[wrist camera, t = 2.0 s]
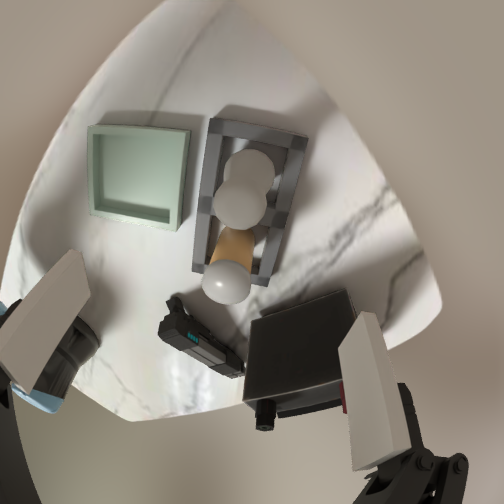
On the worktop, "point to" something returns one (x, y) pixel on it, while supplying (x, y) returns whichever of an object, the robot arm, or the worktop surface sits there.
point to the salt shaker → (244, 189)
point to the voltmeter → (297, 359)
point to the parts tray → (137, 174)
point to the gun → (197, 341)
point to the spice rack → (235, 240)
